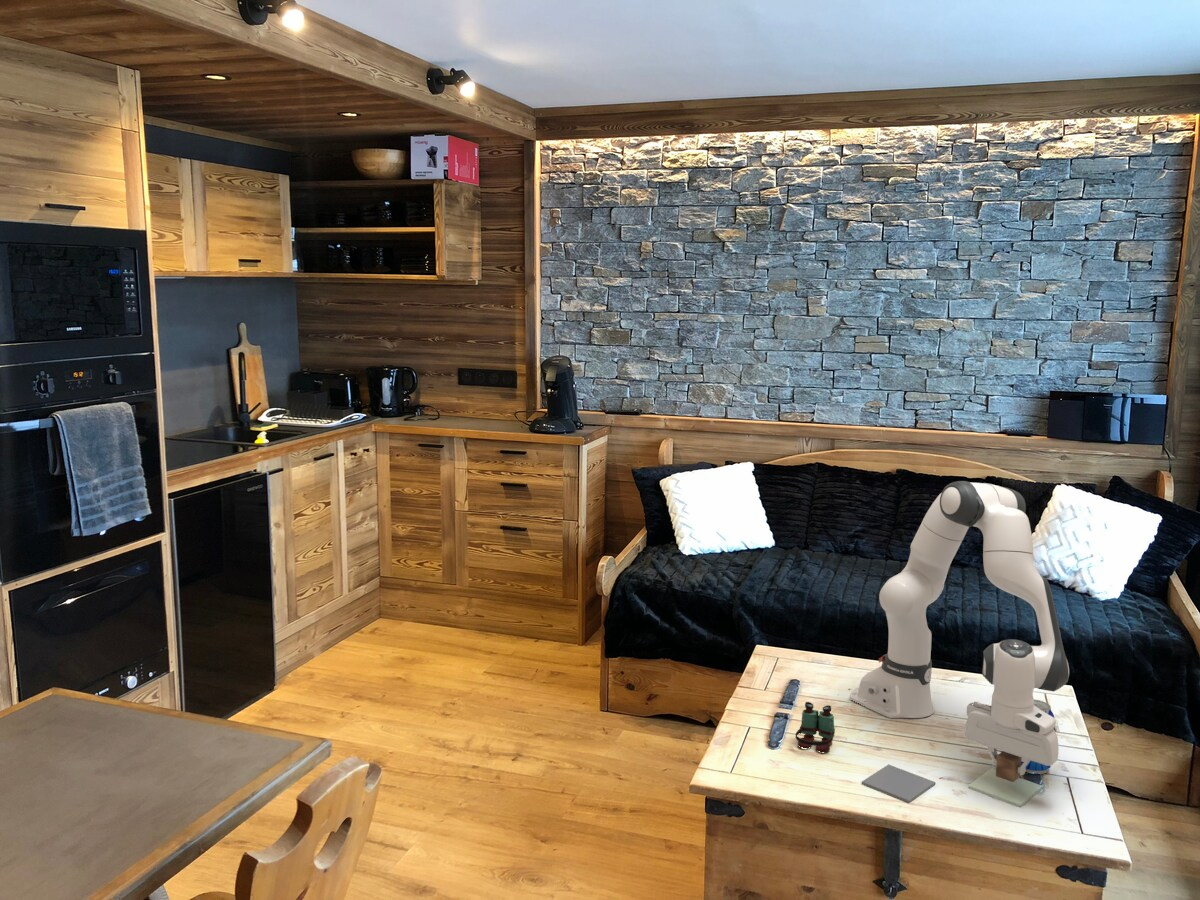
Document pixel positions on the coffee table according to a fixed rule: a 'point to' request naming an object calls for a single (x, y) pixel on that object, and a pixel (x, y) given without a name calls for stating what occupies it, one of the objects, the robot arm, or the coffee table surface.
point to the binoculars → (816, 727)
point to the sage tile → (1005, 788)
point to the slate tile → (898, 783)
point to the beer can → (1033, 765)
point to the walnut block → (1007, 766)
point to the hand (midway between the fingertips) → (1008, 769)
